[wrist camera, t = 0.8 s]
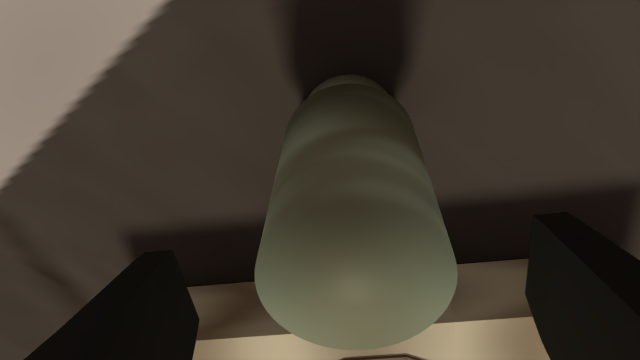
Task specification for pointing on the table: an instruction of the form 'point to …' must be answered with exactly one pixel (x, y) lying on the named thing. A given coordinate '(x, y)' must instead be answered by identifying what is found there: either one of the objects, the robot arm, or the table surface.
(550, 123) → the table surface
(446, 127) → the table surface
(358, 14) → the table surface
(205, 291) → the socket board
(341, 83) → the green peg
